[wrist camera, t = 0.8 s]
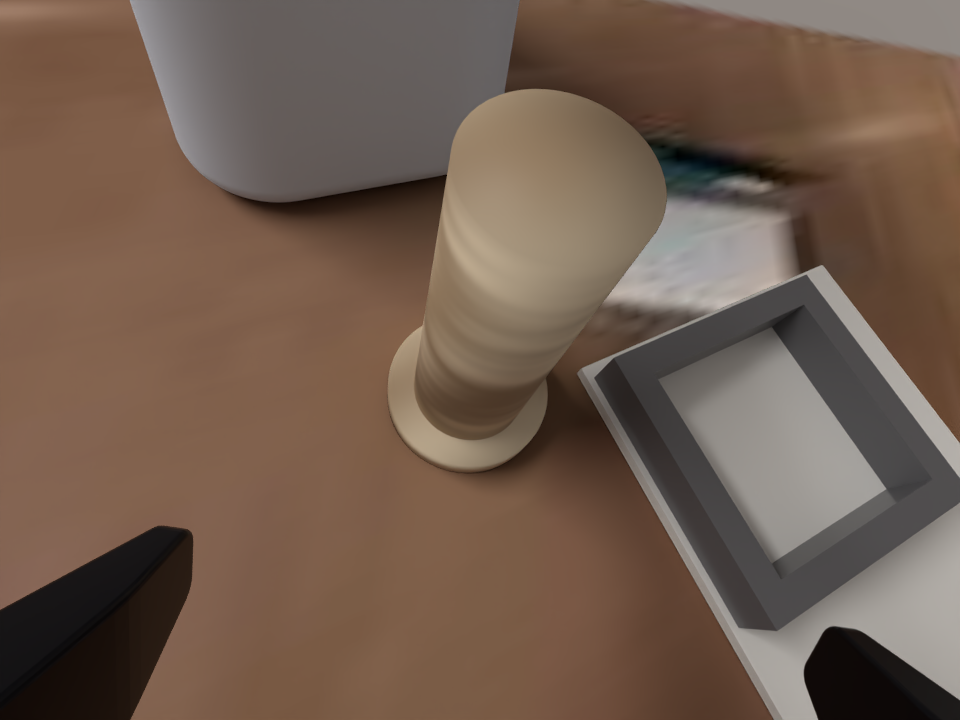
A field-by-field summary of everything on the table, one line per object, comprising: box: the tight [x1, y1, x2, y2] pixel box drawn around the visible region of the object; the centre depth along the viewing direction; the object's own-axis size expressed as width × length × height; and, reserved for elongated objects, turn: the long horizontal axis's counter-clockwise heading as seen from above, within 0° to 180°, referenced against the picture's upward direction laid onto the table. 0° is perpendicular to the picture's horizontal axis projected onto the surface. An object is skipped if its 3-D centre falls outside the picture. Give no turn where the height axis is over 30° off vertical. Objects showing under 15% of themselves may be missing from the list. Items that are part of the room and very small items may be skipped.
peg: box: [387, 89, 667, 473], centre depth 17 cm, size 6×6×13 cm
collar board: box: [577, 265, 960, 720], centre depth 23 cm, size 18×15×3 cm
